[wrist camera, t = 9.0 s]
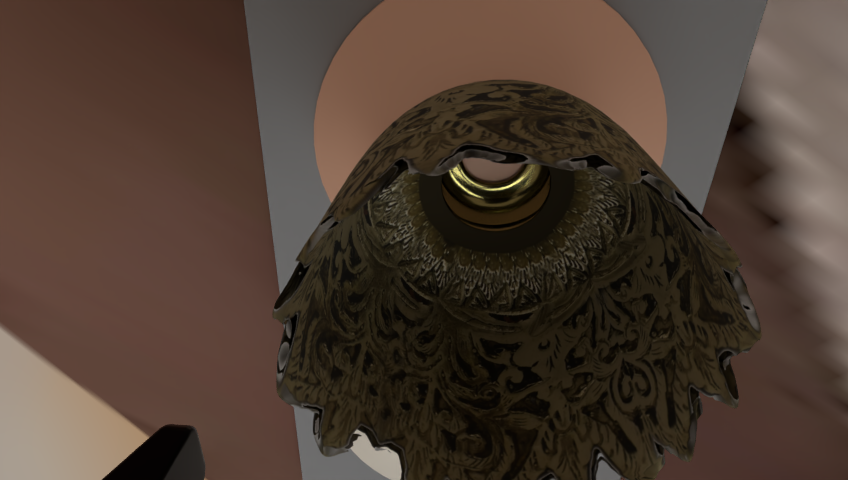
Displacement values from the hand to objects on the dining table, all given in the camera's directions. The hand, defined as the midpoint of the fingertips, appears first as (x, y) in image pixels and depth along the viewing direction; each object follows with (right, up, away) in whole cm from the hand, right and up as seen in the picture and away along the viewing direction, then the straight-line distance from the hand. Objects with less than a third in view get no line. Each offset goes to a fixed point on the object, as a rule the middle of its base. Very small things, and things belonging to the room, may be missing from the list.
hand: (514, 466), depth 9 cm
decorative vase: (+1, +6, +8) cm, 10 cm away
